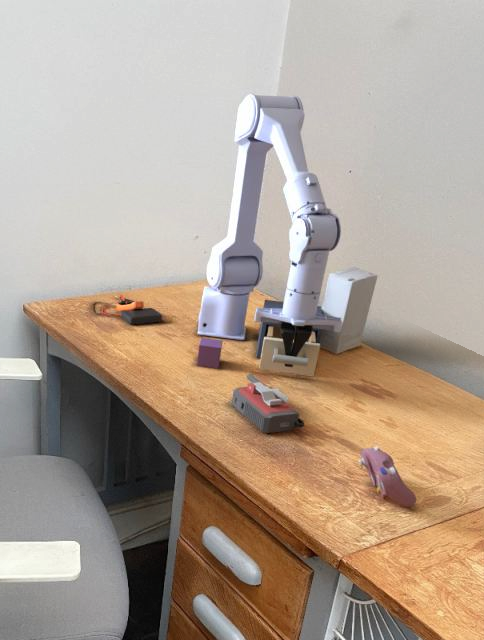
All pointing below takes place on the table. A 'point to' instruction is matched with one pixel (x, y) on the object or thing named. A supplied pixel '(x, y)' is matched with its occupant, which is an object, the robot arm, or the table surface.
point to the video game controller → (386, 476)
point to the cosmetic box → (347, 307)
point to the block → (209, 353)
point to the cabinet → (264, 325)
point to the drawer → (276, 357)
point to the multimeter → (135, 312)
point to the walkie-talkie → (266, 407)
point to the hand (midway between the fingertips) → (288, 364)
